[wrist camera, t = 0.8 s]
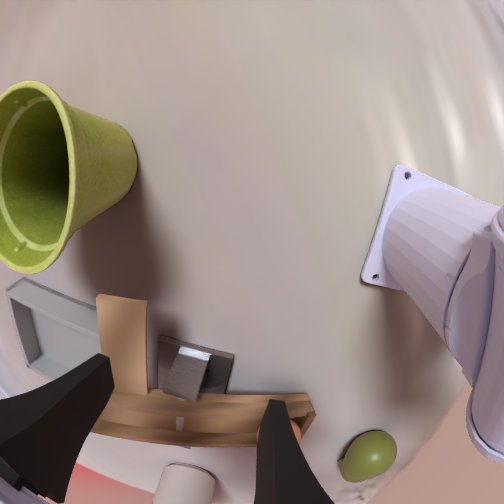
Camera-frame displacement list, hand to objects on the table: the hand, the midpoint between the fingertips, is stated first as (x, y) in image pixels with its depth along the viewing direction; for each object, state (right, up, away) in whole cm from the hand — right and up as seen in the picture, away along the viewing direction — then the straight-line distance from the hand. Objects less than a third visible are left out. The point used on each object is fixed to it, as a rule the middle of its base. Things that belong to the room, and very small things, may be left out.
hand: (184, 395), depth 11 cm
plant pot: (-8, +12, +7) cm, 16 cm away
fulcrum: (-2, -5, +12) cm, 13 cm away
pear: (+16, -16, +15) cm, 27 cm away
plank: (-1, -3, +8) cm, 8 cm away
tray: (-15, -2, +12) cm, 19 cm away
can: (-6, -25, +19) cm, 32 cm away
